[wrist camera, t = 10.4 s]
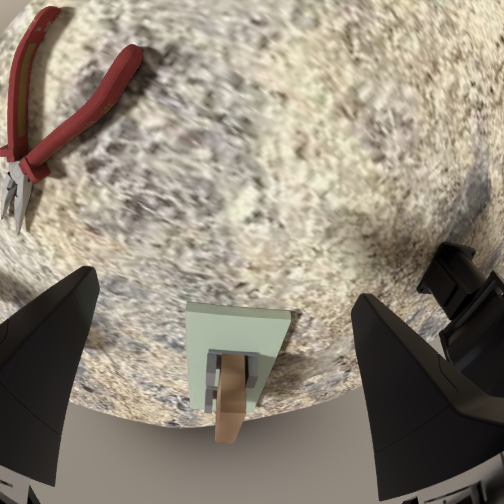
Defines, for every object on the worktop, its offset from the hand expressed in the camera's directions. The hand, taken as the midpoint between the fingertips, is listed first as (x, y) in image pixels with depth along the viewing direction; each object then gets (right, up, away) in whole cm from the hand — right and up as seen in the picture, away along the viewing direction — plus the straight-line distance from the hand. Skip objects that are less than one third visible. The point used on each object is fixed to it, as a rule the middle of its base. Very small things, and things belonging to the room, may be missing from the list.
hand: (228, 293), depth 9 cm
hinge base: (-2, -14, +24) cm, 28 cm away
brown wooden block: (-2, -14, +23) cm, 27 cm away
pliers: (-17, +13, +6) cm, 22 cm away
